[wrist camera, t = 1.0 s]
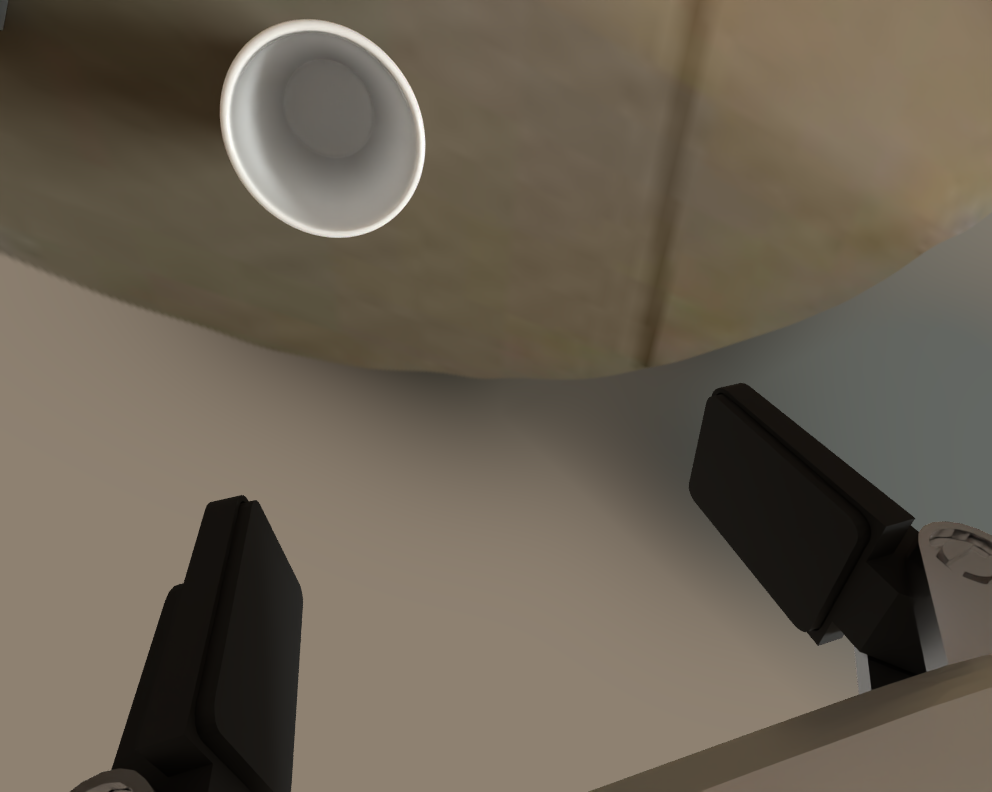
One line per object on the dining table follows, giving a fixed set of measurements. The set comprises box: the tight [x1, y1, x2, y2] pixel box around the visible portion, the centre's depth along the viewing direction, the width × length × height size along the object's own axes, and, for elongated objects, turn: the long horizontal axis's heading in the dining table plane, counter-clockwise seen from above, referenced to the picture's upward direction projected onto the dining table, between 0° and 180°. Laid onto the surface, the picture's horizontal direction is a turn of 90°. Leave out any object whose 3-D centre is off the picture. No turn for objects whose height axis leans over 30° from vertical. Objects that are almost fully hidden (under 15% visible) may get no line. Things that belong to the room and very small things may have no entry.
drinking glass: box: [220, 19, 425, 238], centre depth 23 cm, size 7×7×15 cm
